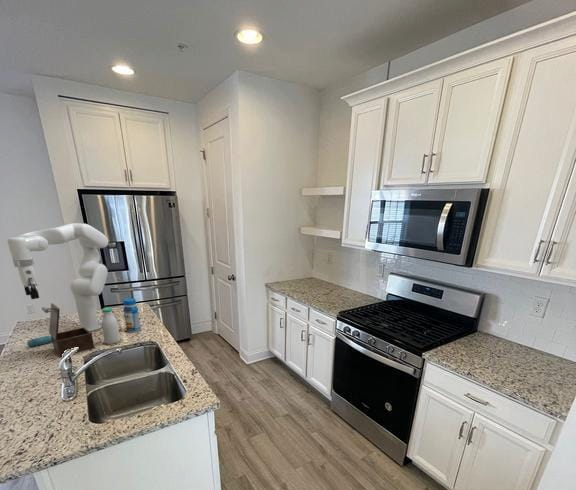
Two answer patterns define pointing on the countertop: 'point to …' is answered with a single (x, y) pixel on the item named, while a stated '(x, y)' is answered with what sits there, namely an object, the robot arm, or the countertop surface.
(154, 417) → the countertop surface
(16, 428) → the countertop surface
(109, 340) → the milk bottle
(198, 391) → the countertop surface
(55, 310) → the bin lid
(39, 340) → the teal cylinder
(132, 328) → the beverage bottle
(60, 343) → the bin
